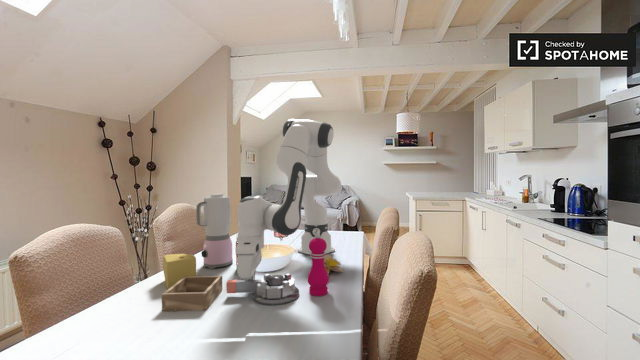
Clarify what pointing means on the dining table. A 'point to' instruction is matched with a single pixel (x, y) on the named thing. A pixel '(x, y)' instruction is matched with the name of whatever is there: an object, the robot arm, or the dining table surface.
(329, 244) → the robot arm
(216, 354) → the dining table surface
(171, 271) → the cheese
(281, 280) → the domed metal lid
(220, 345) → the dining table surface
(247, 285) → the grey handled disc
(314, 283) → the pepper mill
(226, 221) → the blender
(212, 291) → the square wooden frame
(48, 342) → the dining table surface
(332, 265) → the decorative flower
